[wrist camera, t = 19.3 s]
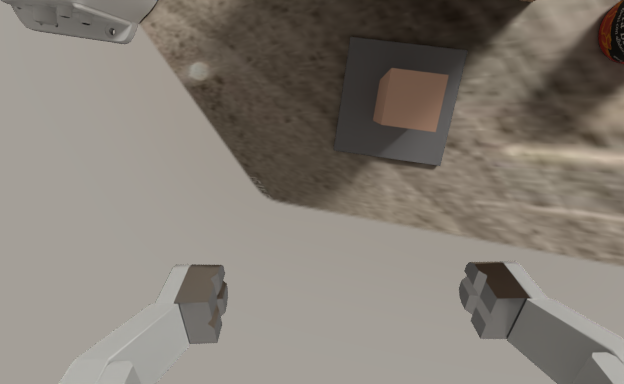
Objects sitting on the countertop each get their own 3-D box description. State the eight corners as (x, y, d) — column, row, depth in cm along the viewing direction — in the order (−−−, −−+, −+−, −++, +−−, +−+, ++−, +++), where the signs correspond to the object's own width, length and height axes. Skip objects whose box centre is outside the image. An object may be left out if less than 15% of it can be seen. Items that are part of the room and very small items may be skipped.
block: (412, 125, 41) (435, 132, 30) (372, 120, 42) (381, 124, 30) (420, 84, 40) (448, 74, 28) (379, 79, 40) (391, 67, 29)
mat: (438, 164, 43) (440, 165, 42) (333, 149, 44) (333, 150, 43) (465, 51, 39) (467, 50, 38) (350, 38, 40) (350, 36, 39)
